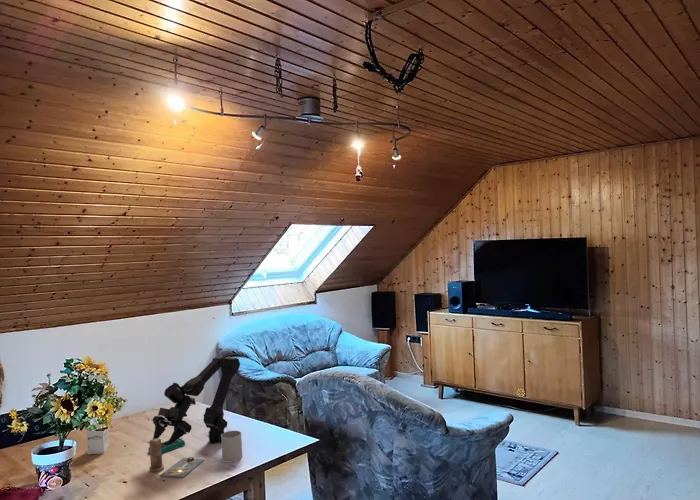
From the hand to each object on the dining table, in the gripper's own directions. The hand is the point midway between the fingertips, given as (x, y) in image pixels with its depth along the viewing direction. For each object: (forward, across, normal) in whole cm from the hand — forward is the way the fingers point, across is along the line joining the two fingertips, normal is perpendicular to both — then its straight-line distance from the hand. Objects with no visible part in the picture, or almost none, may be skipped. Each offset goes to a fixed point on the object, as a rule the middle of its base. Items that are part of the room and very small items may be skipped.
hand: (160, 443), depth 219 cm
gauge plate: (+5, +9, +9) cm, 14 cm away
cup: (-7, +20, +21) cm, 30 cm away
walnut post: (+9, 0, +5) cm, 10 cm away
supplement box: (+8, -42, +7) cm, 43 cm away
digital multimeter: (-3, -15, +18) cm, 23 cm away
